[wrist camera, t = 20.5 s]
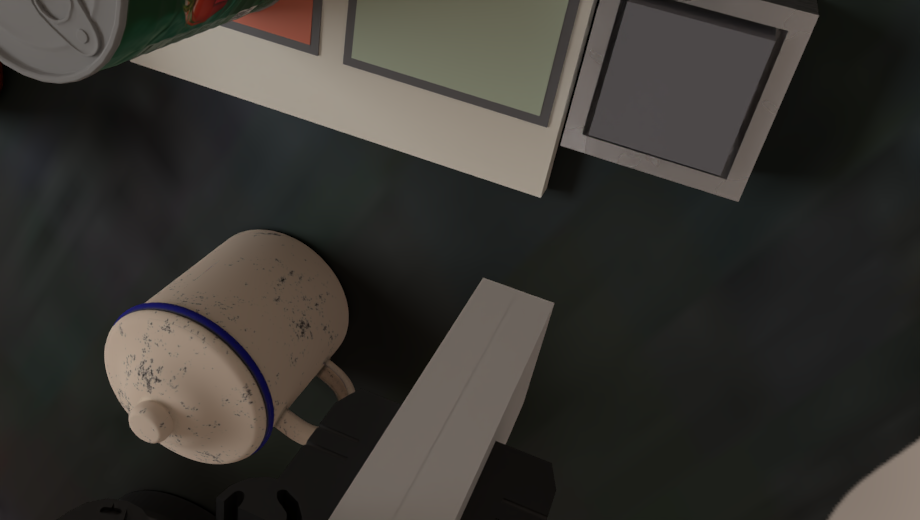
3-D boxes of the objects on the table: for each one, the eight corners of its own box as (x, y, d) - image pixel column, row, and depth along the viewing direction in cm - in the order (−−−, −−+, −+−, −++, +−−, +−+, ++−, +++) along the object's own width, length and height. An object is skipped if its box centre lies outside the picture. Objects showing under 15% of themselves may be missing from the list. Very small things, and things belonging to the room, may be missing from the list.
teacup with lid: (196, 299, 46) (45, 425, 37) (241, 190, 41) (78, 304, 31) (359, 415, 46) (249, 571, 37) (426, 321, 41) (317, 475, 31)
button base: (741, 171, 31) (738, 201, 29) (577, 120, 32) (560, 145, 30) (816, -3, 27) (819, 15, 25) (625, -52, 29) (610, -40, 26)
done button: (725, 146, 30) (720, 175, 28) (603, 109, 31) (588, 134, 29) (776, 20, 27) (775, 41, 25) (641, -15, 28) (627, 1, 26)
